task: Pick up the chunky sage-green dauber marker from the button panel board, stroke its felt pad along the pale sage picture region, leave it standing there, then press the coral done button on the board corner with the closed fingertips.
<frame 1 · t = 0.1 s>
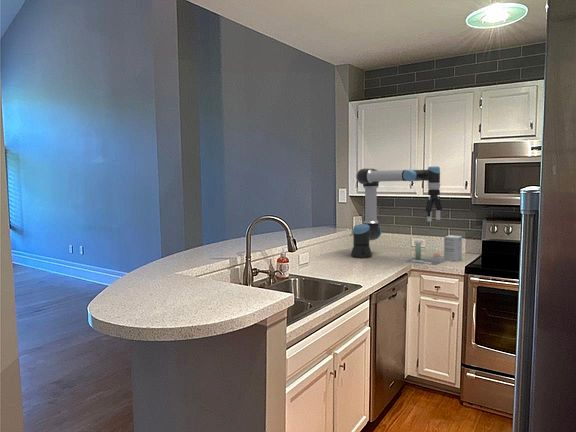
hand: (433, 220, 285), 28 cm above the worktop, fingers open, 13 cm apart
button panel board: (424, 262, 284), on the worktop
done button: (437, 256, 282), point 4 cm above the worktop, slide at 0.0 cm
supplement box: (452, 260, 287), on the worktop
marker: (418, 259, 292), point 1 cm above the worktop, touching button panel board
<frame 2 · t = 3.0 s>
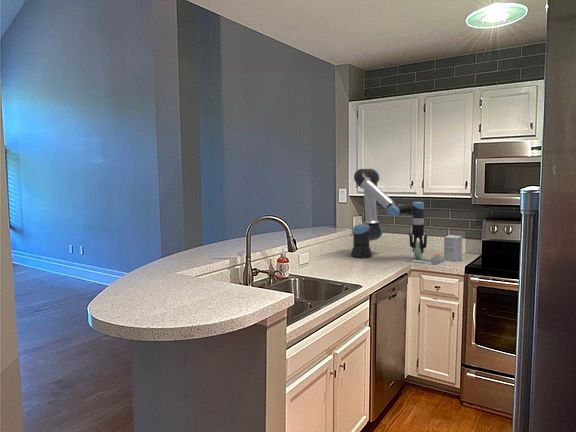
hand: (418, 257, 292), 2 cm above the worktop, fingers closed on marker, 3 cm apart
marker: (418, 259, 292), point 1 cm above the worktop, touching button panel board, gripper
everything else where it was.
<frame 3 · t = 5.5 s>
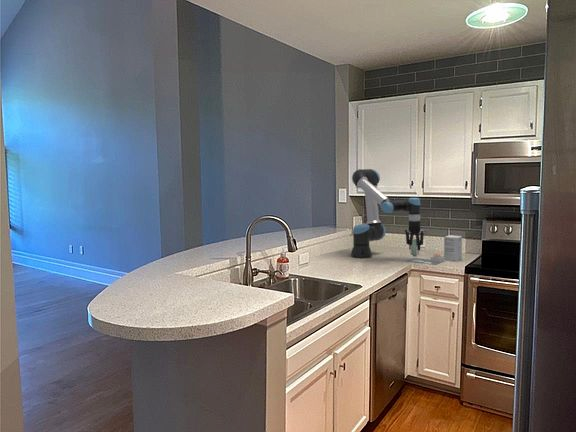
hand: (414, 254, 286), 5 cm above the worktop, fingers closed on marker, 3 cm apart
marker: (414, 256, 286), point 4 cm above the worktop, touching gripper
everything else where it was.
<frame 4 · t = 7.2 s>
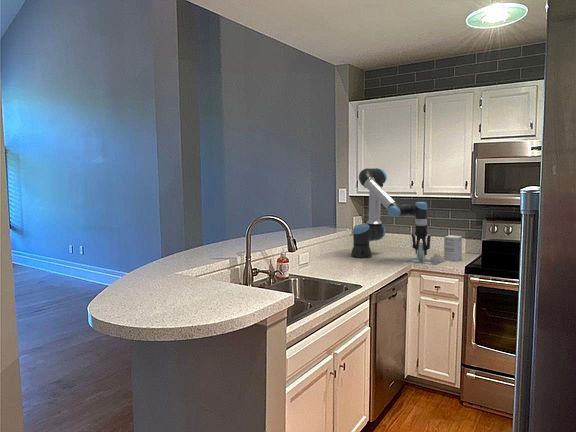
hand: (421, 259, 283), 2 cm above the worktop, fingers closed on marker, 3 cm apart
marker: (421, 260, 283), point 1 cm above the worktop, touching gripper
everything else where it was.
when the fingers open (2 cm above the worktop, at t = 7.9 s): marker stays where it is, resting on button panel board.
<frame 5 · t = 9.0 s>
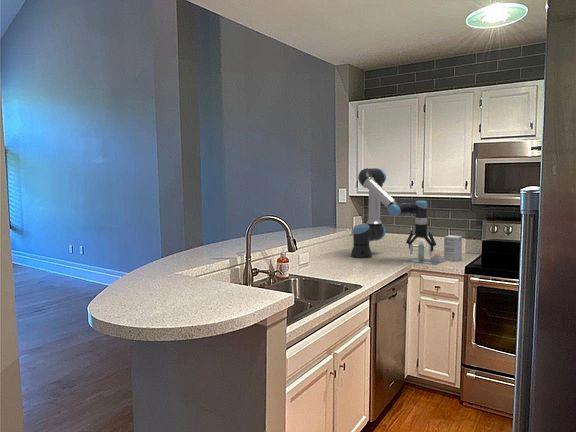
hand: (420, 255, 283), 5 cm above the worktop, fingers open, 13 cm apart
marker: (421, 261, 283), point 1 cm above the worktop, touching button panel board
everything else where it was.
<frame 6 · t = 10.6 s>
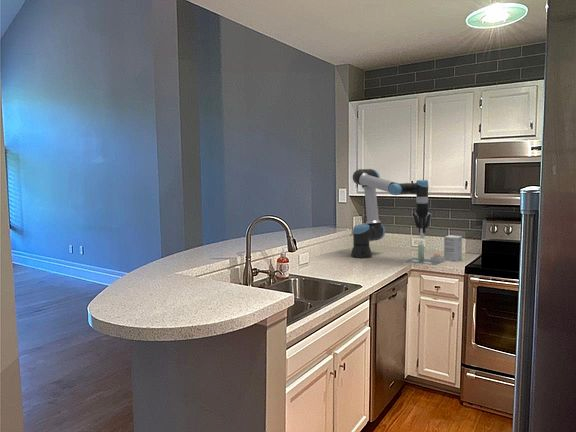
hand: (422, 238, 282), 17 cm above the worktop, fingers closed
nothing on the worktop moved.
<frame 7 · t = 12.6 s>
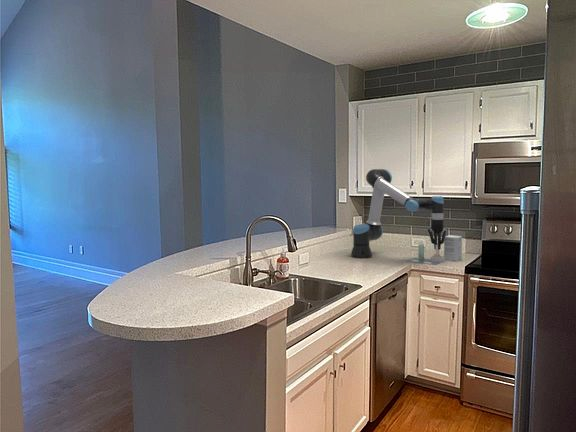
hand: (437, 254, 281), 6 cm above the worktop, fingers closed
done button: (437, 257, 282), point 3 cm above the worktop, slide at 0.8 cm, touching gripper
everything else where it was.
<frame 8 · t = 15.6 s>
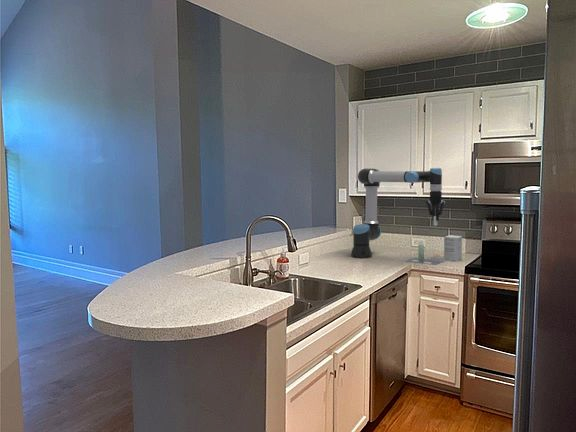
hand: (435, 225, 285), 24 cm above the worktop, fingers closed
done button: (437, 257, 282), point 3 cm above the worktop, slide at 1.0 cm
everything else where it was.
at the end: done button slide at 1.0 cm; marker inside the target area (2.2 cm from its centre), point 0.7 cm above the worktop; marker tilted 1° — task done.
